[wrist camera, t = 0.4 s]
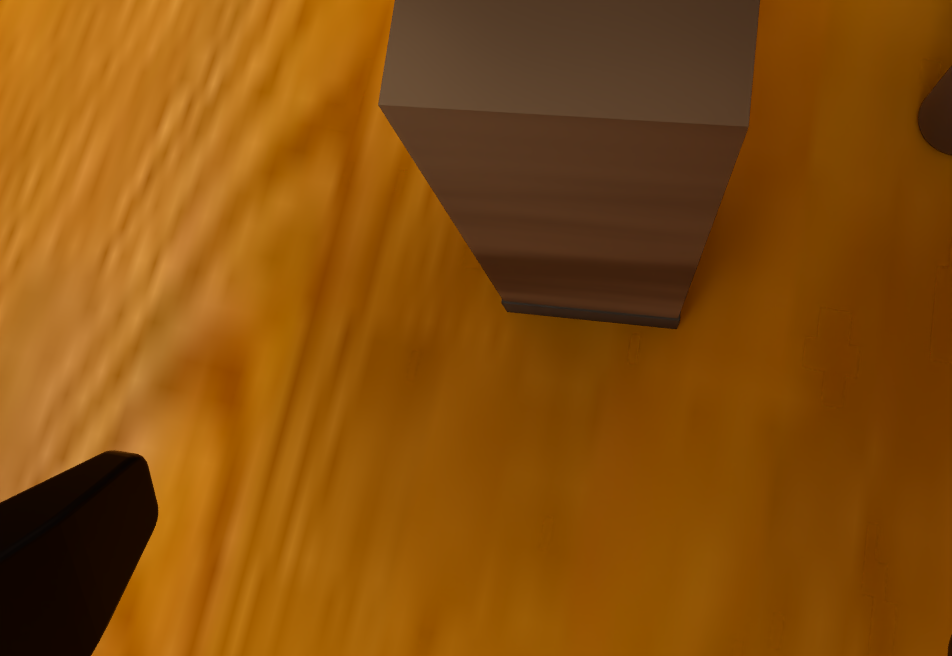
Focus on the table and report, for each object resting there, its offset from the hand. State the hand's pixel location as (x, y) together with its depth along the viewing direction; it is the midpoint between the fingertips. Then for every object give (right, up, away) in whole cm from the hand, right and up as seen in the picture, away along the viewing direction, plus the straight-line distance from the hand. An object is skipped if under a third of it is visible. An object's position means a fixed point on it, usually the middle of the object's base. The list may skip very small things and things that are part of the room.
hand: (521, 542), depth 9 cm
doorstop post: (+3, +5, +14) cm, 15 cm away
